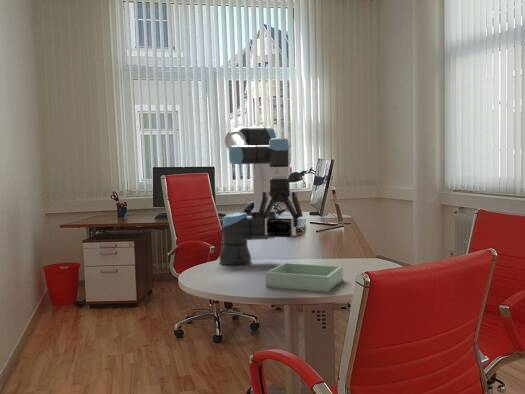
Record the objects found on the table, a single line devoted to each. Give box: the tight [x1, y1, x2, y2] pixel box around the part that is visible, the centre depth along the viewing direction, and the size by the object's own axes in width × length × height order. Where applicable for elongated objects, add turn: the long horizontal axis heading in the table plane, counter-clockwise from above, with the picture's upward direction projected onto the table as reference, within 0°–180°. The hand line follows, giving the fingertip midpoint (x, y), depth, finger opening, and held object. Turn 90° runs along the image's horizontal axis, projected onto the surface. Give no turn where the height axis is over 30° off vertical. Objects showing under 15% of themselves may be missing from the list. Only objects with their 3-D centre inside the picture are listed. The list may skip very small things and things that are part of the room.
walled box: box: [265, 262, 344, 293], centre depth 195 cm, size 24×20×6 cm
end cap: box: [266, 218, 292, 238], centre depth 197 cm, size 10×7×7 cm
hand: (280, 235), depth 197 cm, fingers closed on end cap, 10 cm apart
